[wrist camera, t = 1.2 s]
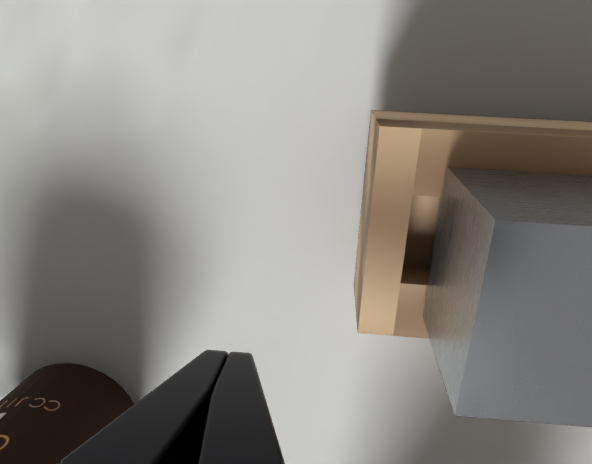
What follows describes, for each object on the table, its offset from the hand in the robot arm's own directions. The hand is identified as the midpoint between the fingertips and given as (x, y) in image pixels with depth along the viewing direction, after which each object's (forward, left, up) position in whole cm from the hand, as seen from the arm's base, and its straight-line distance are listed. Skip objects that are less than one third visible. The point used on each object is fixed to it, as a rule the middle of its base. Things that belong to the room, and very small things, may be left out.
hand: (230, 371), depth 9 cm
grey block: (0, -8, -8) cm, 11 cm away
